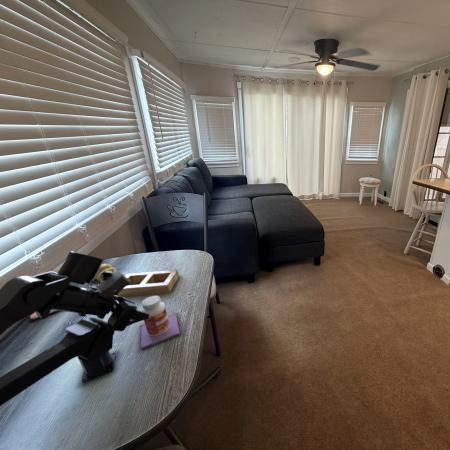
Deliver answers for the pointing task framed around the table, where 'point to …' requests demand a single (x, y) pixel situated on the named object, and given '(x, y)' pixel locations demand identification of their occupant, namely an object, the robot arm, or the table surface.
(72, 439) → the table surface
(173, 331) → the mat
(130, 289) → the bottle rack
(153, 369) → the table surface
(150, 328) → the pill bottle
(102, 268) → the yellow banana bunch
